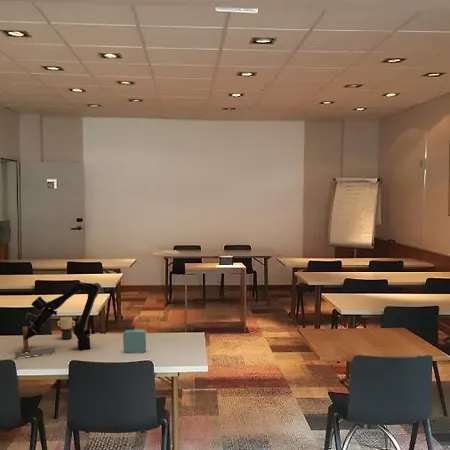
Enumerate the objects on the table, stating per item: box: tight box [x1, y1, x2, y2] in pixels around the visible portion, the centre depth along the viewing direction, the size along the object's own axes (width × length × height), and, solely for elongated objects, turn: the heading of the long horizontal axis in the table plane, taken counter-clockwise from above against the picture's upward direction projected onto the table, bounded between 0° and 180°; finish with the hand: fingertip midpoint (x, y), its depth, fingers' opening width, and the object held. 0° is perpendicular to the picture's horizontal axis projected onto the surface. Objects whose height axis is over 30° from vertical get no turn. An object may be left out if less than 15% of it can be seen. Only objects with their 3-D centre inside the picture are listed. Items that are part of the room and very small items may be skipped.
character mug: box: [57, 316, 76, 340], centre depth 339 cm, size 11×7×13 cm, turn 87°
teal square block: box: [122, 329, 147, 354], centre depth 306 cm, size 12×4×12 cm, turn 89°
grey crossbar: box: [14, 346, 56, 358], centre depth 302 cm, size 21×2×4 cm, turn 110°
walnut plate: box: [22, 325, 29, 353], centre depth 312 cm, size 2×7×14 cm, turn 20°
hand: (24, 337), depth 312 cm, fingers open, 9 cm apart
